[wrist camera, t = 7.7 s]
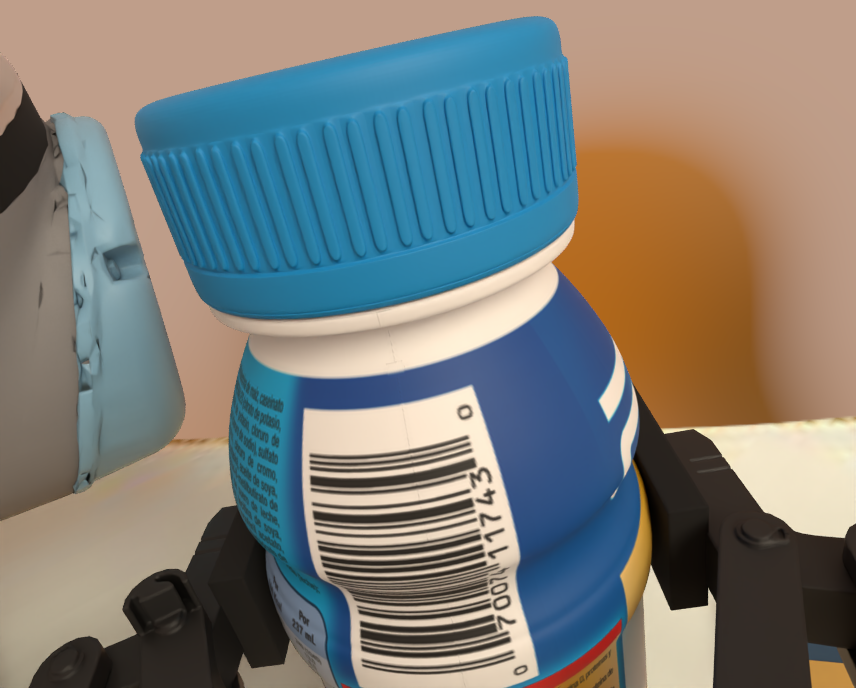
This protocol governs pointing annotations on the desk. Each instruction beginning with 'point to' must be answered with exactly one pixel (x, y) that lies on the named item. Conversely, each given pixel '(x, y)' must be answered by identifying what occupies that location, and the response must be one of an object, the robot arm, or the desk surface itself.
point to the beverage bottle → (417, 361)
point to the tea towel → (827, 667)
